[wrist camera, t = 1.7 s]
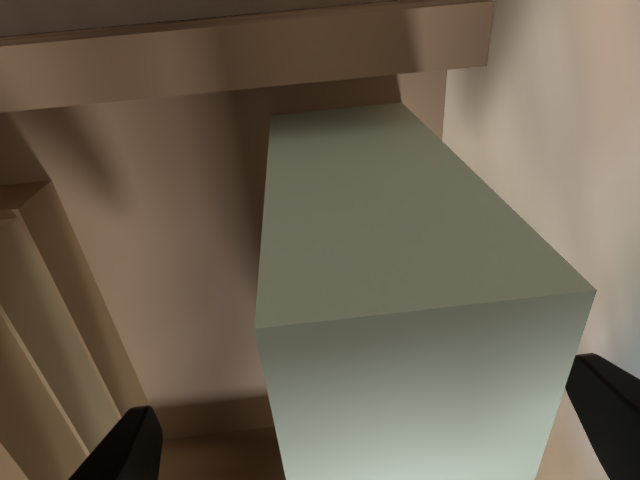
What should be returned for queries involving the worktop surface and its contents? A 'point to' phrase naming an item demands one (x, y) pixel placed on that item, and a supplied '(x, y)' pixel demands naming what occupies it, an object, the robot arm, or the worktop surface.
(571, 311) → the pale grey rectangular block
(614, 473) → the robot arm
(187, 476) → the rack
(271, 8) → the worktop surface
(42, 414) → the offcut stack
